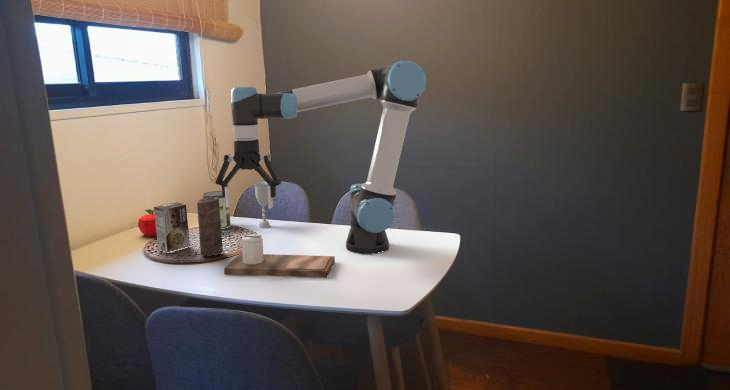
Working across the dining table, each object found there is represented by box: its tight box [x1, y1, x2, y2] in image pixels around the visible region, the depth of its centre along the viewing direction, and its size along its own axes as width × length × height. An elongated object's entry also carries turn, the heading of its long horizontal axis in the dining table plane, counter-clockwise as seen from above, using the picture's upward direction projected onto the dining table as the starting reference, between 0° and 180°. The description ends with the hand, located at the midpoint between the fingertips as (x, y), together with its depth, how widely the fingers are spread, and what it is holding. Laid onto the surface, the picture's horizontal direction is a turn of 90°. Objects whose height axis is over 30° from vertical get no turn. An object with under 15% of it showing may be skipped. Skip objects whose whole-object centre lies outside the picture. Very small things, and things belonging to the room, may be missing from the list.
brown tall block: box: [196, 197, 224, 257], centre depth 178 cm, size 8×7×20 cm
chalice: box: [253, 181, 272, 229], centre depth 213 cm, size 7×7×18 cm
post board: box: [223, 253, 336, 278], centre depth 166 cm, size 32×14×8 cm, turn 83°
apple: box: [137, 209, 157, 237], centre depth 205 cm, size 11×11×10 cm
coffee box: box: [153, 201, 191, 252], centre depth 185 cm, size 9×6×16 cm
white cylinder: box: [241, 233, 264, 264], centre depth 167 cm, size 6×6×8 cm
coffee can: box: [201, 190, 232, 229], centre depth 214 cm, size 10×10×14 cm
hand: (249, 207), depth 164 cm, fingers open, 13 cm apart
